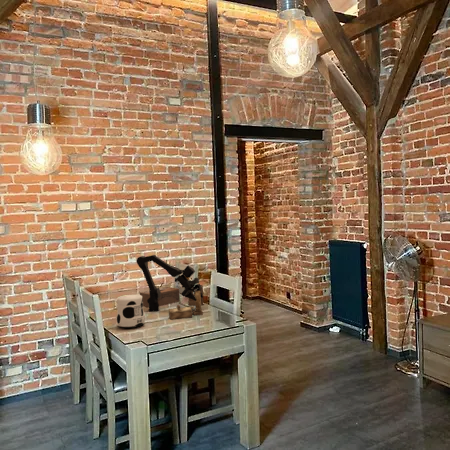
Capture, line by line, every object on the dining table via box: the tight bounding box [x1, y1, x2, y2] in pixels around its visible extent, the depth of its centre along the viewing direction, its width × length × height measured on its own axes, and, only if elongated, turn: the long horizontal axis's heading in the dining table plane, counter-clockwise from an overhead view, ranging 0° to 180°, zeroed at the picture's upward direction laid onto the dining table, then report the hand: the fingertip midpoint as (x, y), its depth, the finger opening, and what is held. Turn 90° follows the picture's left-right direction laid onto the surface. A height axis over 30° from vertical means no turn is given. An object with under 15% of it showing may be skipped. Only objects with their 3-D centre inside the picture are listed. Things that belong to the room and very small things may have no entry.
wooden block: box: [187, 284, 204, 307], centre depth 323 cm, size 4×11×18 cm, turn 104°
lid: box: [168, 304, 195, 313], centre depth 290 cm, size 17×8×3 cm, turn 105°
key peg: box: [194, 291, 202, 310], centre depth 303 cm, size 4×4×14 cm
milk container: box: [115, 294, 146, 329], centre depth 273 cm, size 17×17×18 cm
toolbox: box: [168, 309, 204, 321], centre depth 292 cm, size 22×10×4 cm, turn 105°
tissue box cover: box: [139, 286, 181, 308], centre depth 333 cm, size 26×14×10 cm, turn 134°
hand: (199, 299), depth 302 cm, fingers open, 9 cm apart
